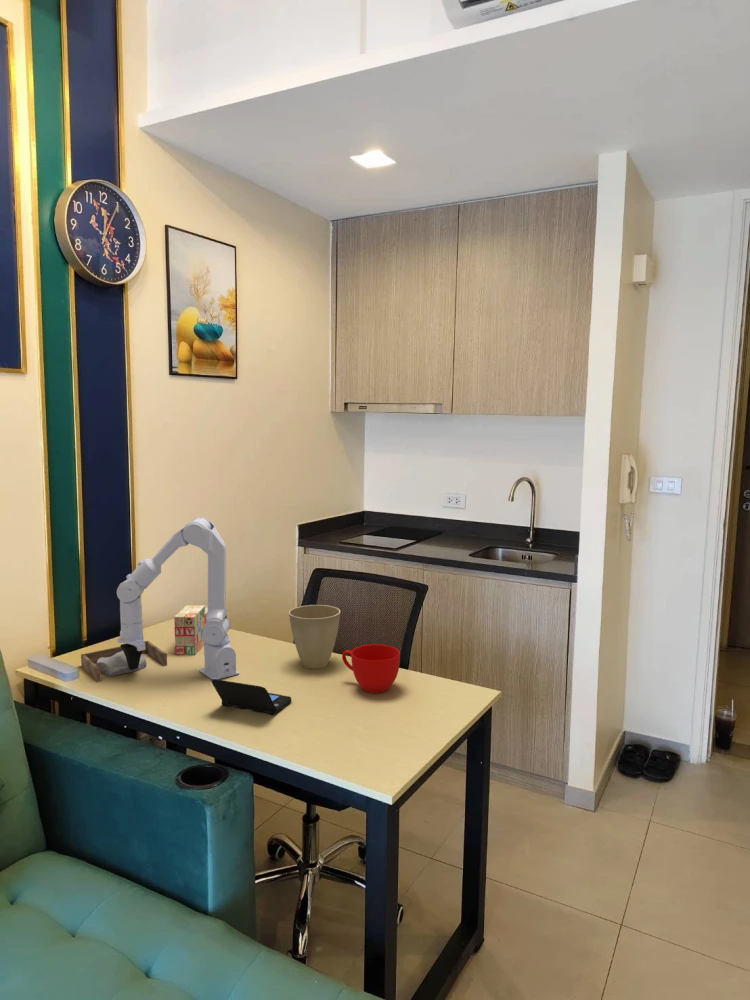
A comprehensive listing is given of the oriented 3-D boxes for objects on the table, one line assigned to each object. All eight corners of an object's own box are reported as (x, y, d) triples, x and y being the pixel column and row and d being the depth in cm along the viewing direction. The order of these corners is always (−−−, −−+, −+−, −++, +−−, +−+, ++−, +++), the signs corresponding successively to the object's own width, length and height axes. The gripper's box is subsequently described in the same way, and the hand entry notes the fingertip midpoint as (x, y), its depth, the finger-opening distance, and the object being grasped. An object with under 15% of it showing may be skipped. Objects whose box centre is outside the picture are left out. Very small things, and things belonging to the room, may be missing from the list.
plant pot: (351, 664, 200) (351, 611, 198) (312, 678, 190) (312, 622, 188) (317, 651, 210) (316, 601, 208) (279, 664, 200) (278, 611, 198)
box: (167, 665, 199) (166, 653, 198) (97, 681, 187) (96, 669, 186) (148, 651, 210) (147, 640, 210) (81, 666, 198) (80, 654, 198)
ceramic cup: (355, 673, 193) (355, 638, 192) (408, 685, 185) (408, 649, 183) (329, 688, 182) (329, 652, 181) (384, 702, 174) (384, 664, 172)
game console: (293, 702, 174) (293, 668, 173) (265, 724, 162) (264, 687, 160) (241, 692, 180) (240, 659, 179) (210, 713, 167) (209, 678, 166)
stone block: (150, 672, 198) (131, 658, 204) (151, 657, 197) (131, 644, 203) (112, 686, 189) (93, 671, 195) (113, 671, 188) (94, 656, 194)
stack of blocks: (195, 633, 229) (194, 597, 227) (213, 633, 228) (212, 597, 227) (175, 655, 207) (173, 616, 206) (195, 655, 207) (194, 616, 206)
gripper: (108, 618, 194) (110, 664, 195) (126, 630, 182) (128, 679, 184) (133, 614, 198) (135, 659, 200) (152, 625, 187) (154, 673, 189)
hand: (133, 668), depth 192 cm, fingers closed
